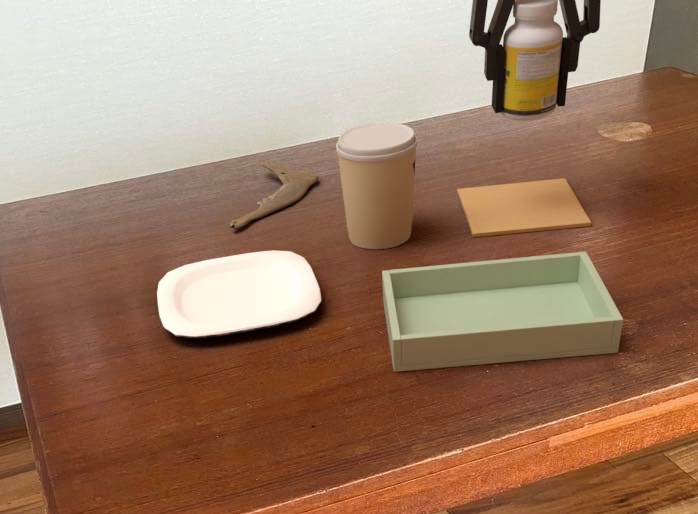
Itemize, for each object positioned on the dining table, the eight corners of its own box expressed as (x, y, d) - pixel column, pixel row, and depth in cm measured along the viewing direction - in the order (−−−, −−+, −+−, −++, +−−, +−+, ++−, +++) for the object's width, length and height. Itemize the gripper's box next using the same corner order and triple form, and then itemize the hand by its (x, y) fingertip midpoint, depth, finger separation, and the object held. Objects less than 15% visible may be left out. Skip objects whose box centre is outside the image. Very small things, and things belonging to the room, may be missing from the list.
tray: (582, 282, 96) (586, 251, 94) (618, 352, 85) (623, 319, 83) (383, 300, 98) (381, 270, 95) (393, 372, 87) (392, 339, 84)
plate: (332, 327, 95) (330, 312, 93) (164, 356, 94) (161, 342, 92) (303, 256, 108) (301, 242, 107) (156, 280, 107) (153, 267, 106)
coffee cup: (433, 234, 108) (434, 133, 100) (373, 260, 105) (368, 156, 97) (385, 213, 114) (382, 115, 106) (327, 236, 111) (319, 137, 103)
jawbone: (323, 175, 128) (323, 160, 126) (297, 239, 113) (297, 223, 112) (262, 171, 129) (261, 157, 128) (229, 234, 115) (227, 219, 113)
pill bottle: (513, 101, 107) (520, -9, 99) (564, 106, 104) (576, -7, 96) (489, 119, 104) (494, 6, 96) (541, 125, 100) (551, 9, 93)
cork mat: (564, 181, 116) (565, 177, 116) (590, 226, 106) (591, 222, 105) (457, 192, 117) (457, 188, 117) (472, 237, 107) (472, 233, 106)
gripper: (635, -158, 90) (604, 87, 105) (442, -134, 91) (440, 104, 107) (657, -150, 84) (621, 107, 100) (452, -124, 86) (448, 125, 101)
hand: (527, 105), depth 103 cm, fingers closed on pill bottle, 6 cm apart
